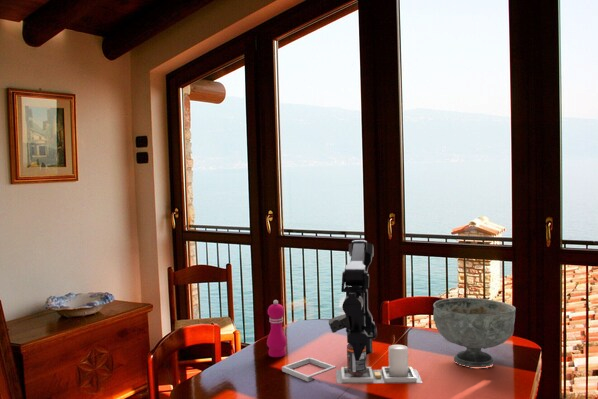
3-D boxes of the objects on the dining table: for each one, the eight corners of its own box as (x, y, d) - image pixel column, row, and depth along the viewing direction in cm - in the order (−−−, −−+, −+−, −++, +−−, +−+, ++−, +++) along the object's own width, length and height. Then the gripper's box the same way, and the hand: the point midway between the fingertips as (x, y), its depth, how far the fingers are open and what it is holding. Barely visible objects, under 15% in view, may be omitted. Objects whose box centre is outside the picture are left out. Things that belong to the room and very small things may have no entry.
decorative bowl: (427, 369, 174) (429, 308, 173) (435, 346, 198) (437, 292, 197) (515, 381, 165) (517, 317, 164) (512, 356, 189) (514, 300, 188)
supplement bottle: (345, 369, 171) (345, 334, 170) (364, 368, 171) (363, 334, 171) (349, 376, 165) (348, 340, 164) (368, 375, 165) (367, 339, 165)
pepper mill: (284, 358, 189) (283, 302, 188) (264, 357, 191) (263, 302, 190) (289, 351, 196) (287, 297, 195) (270, 350, 198) (268, 297, 197)
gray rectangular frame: (416, 373, 173) (416, 365, 172) (422, 386, 162) (422, 379, 161) (336, 373, 174) (335, 366, 174) (336, 387, 163) (336, 379, 163)
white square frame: (309, 361, 186) (309, 357, 185) (335, 370, 176) (335, 366, 176) (282, 371, 177) (281, 366, 177) (307, 381, 168) (307, 376, 168)
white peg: (396, 370, 172) (396, 343, 171) (412, 375, 167) (411, 347, 167) (385, 376, 168) (384, 347, 167) (400, 381, 163) (400, 352, 163)
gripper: (329, 300, 177) (330, 347, 177) (330, 316, 158) (331, 368, 159) (363, 300, 176) (364, 346, 177) (367, 315, 157) (368, 367, 158)
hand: (356, 356), depth 168 cm, fingers closed on supplement bottle, 6 cm apart
